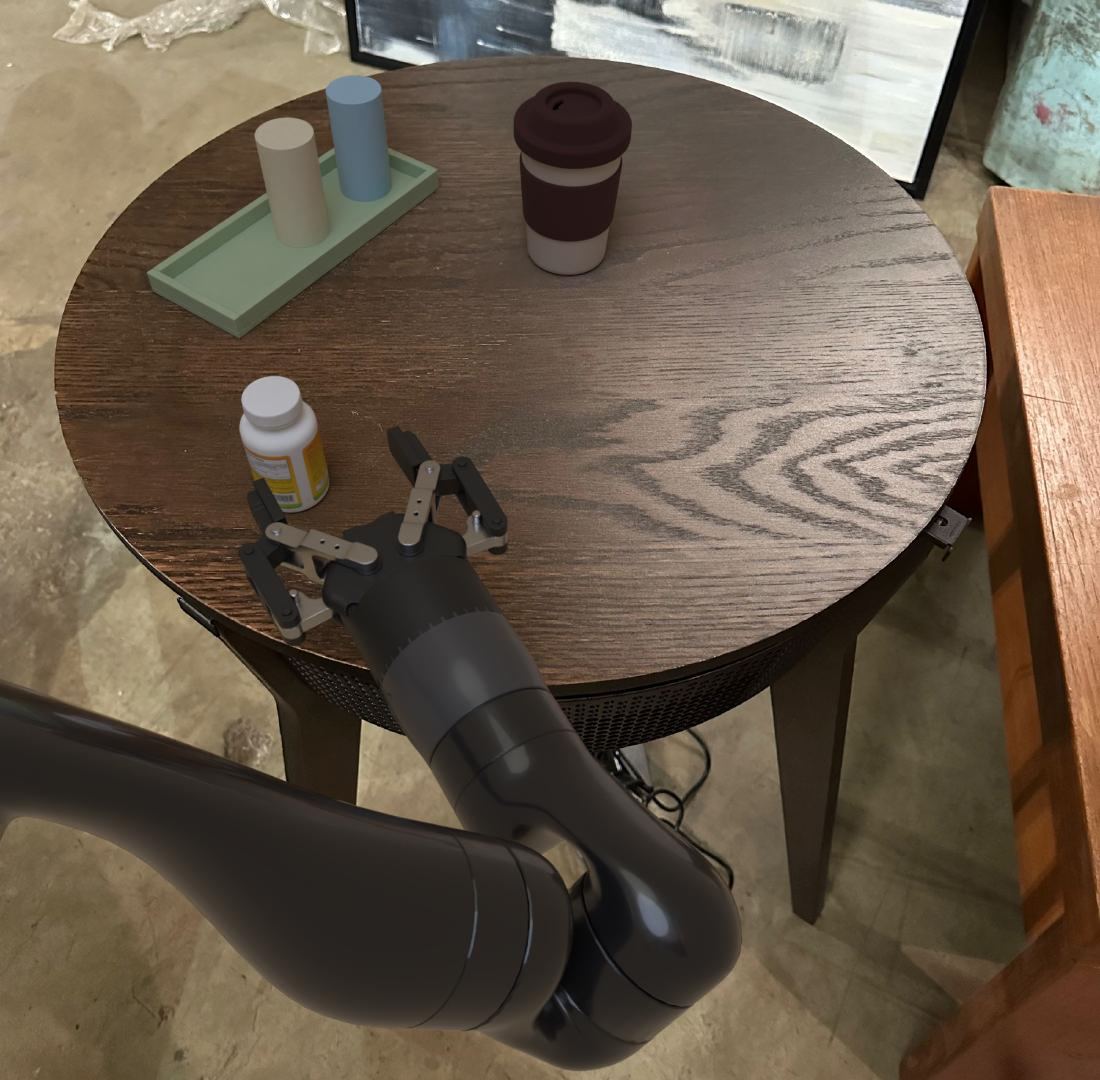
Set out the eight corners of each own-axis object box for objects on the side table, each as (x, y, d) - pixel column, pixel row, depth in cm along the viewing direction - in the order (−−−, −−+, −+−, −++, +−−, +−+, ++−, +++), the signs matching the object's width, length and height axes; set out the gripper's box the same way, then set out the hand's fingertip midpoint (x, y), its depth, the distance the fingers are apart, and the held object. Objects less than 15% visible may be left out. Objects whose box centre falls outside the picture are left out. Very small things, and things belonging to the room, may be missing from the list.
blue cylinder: (341, 203, 99) (327, 105, 91) (338, 174, 102) (324, 76, 94) (394, 199, 100) (383, 101, 92) (389, 170, 103) (378, 73, 95)
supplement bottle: (311, 451, 80) (290, 358, 73) (342, 496, 78) (323, 404, 70) (246, 478, 78) (217, 385, 71) (276, 525, 76) (249, 434, 68)
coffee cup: (639, 266, 95) (657, 115, 84) (547, 299, 92) (552, 147, 80) (583, 210, 101) (592, 60, 89) (494, 239, 97) (492, 88, 85)
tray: (239, 339, 88) (234, 319, 86) (152, 291, 91) (146, 272, 90) (439, 188, 102) (438, 169, 100) (357, 151, 106) (355, 133, 104)
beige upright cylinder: (276, 250, 94) (254, 151, 86) (275, 217, 97) (254, 119, 89) (331, 245, 95) (315, 146, 87) (328, 213, 98) (312, 115, 90)
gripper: (571, 567, 53) (429, 375, 61) (310, 689, 48) (196, 463, 56) (566, 645, 59) (437, 460, 67) (334, 760, 54) (227, 546, 62)
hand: (327, 462), depth 62 cm, fingers open, 8 cm apart
